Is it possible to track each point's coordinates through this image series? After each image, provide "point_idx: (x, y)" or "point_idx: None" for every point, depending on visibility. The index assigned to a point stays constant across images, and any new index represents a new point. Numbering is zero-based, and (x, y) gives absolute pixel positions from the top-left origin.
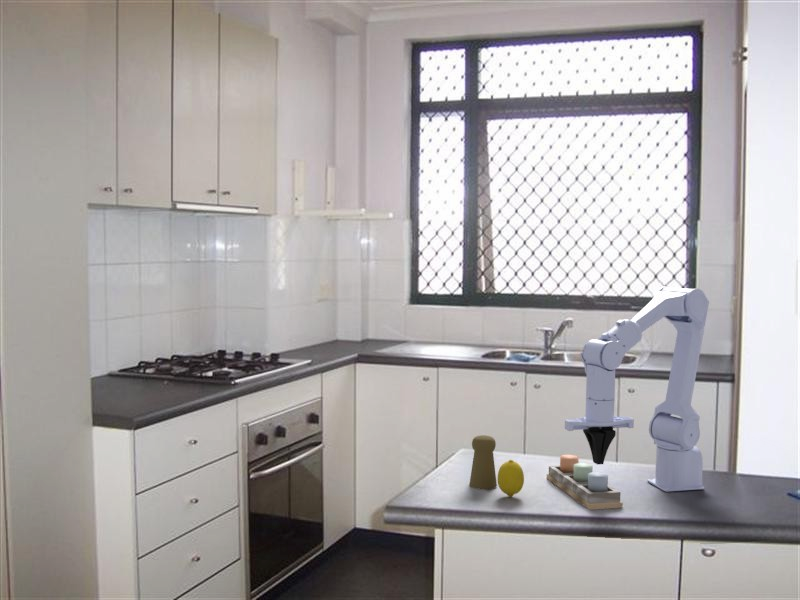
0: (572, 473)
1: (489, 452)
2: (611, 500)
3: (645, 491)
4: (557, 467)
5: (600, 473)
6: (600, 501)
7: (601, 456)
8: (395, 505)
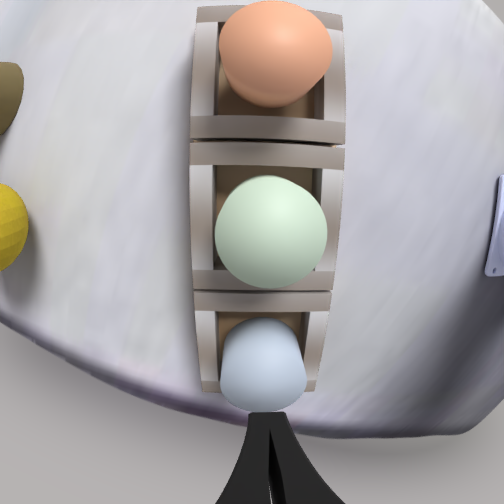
0: (254, 131)
1: None
2: None
3: (455, 251)
4: None
5: (287, 371)
6: None
7: (268, 474)
8: None
